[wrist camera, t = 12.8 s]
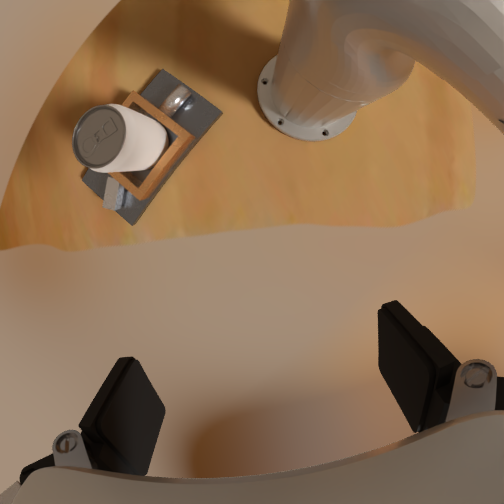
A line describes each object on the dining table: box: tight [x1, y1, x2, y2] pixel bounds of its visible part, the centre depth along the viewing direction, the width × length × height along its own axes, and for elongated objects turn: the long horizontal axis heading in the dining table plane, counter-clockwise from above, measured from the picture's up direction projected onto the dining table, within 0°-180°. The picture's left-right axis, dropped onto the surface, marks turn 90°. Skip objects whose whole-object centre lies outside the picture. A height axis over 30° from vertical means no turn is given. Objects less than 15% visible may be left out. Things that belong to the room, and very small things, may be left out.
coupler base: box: [82, 69, 223, 226], centre depth 30 cm, size 18×10×4 cm, turn 139°
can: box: [72, 104, 169, 173], centre depth 25 cm, size 6×6×12 cm
